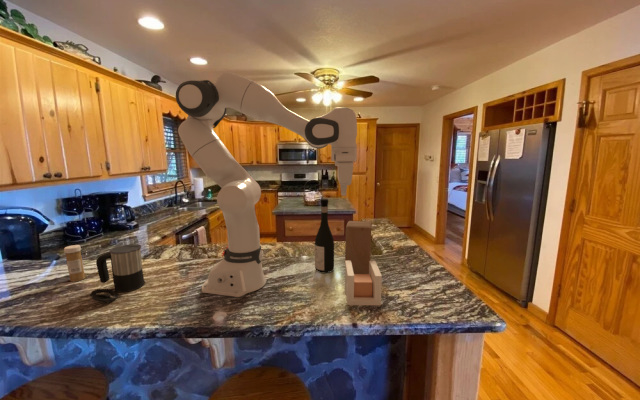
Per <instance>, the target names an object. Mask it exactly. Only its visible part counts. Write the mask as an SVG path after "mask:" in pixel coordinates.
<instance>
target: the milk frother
mask: <svg viewBox="0 0 640 400" xmlns="http://www.w3.org/2000/svg"><path fill="white" fill-rule="evenodd" d="M141 248H142V245H140V244H137V243H136V244H124V245H119V246H115V247H112V248H111V249H110V250H109V251H107V252H104V253H102V254H101V255H99V257H98V258H97V259H96V262H95V263H96V264H95V265H96V269H97V272H98V277H99V281H100V283H101V284H105V283H107V282H108V281H109V280H110V274H109V270H108V262H107V260H108V259H109V260H110V264H111V265H110V266H111V271H112V280H113V284H114V287H113V288H97V289H94V290H92V291H91V292H90V298H91V299H93V301H96V302H100V303H109V302H113V301H115V300H117V298H119V293H128V292H131V291H132V292H133V291H135V290H138V289H140V288H141V287H143V286H144V285H145V284H146V281H145V278H144V271H143V261H142V252H141V251H142V250H141Z"/></svg>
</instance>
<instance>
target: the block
mask: <svg viewBox="0 0 640 400" xmlns="http://www.w3.org/2000/svg"><path fill="white" fill-rule="evenodd" d="M354 297H364V298H372V280H371V277H370V274H354Z"/></svg>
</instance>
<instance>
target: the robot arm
mask: <svg viewBox="0 0 640 400" xmlns="http://www.w3.org/2000/svg"><path fill="white" fill-rule="evenodd" d="M175 101H176V104H177V106H178V107H179V109H181V110H182V112H184V113H185V114H187V117H186V119H185V120H184V121H182V122H181V123H180V125H179V126H178V129H177V132H178V136H179V138H180V140H181V142H182V145H183V146H184V147H185V150H187V152H188V153H189V155H190V156H191V158H192V159H193V160H194V161H195V163H196V164H197V166H199V168H200V170H202V172H203V174H204V175H205V176H206V177H207V178H208V179H210V180H212V181H213V182H214V183H215V184H217V186H219V187H220V190H219V191H218V193H217V196H216V204H217V206H218V208H219V209H220V211H221V212H222V214H223V215H222V216H223V218H224V222H225V223H224V224H225V226H226V232H227V233H226V234H227V246H226V247H225V249H224V250H223V252H222V253H221V257H222V258H223V259H221V260H219V262H217V263H216V264H215V265H214V266H212V268H211V269H210V270H209V272H208V277H207V279H206V280H205V281H204V282H203V284H202V285H201V293H203V294H211V295H219V296H220V295H221V296H225V297H236V298H240V297H243V296H245V295H247V294H248V293H253V292H255V291H258V290H260V289H261V288H263V287H264V286H265V285H266V283H267V280H266V276H265V274H264V270H263V265H262V261H263V260H262V259H263V252H262V246H261V239H260V238H261V237H260V226H259V223H258V219H257V214H256V207H255V205H256V204H257V203H258V202H259V201H260V200H261V195H262V188H261V186H260V184H259V183H258V182H257V181H256V180H255V179H254V178H253V177H252V176H251V175H250V173H249V172H248V171H246V169H245V168H244V167H243V166H242V165H241V164H240V163H239V162H238V161H237V160H236V158H235V157H234V156H233V155H232V154H231V152H230V151H229V149H228V148H227V147H226V145H225V144H224V141H222V140H221V139H220V136H218V134H217V133H216V131H215V128H217V127H218V125H219V123H221V121H222V120H223V119H224V118H225V116H226V114H227V109H232V110H235V111H237V112H239V113H241V114H243V115H245V116H248V117H250V118H251V119H252V118H253V119H255V120H259V121H263V122H267V123H270V124H274V125H278V126H280V127H282V128H285V129H286V130H289V131H291V132H293V133H295V134H296V135H299V136H300V137H302V138H303V139H304V141H305V142H306V143H307V144H308V146H310V147H312V148H314V149H318V150H319V149H324V148H326V147H327V146H328V145H330V147H331V149H330V151H331V152H330V153H331V162H334V166H335V167H337V181H338V183H339V185H340V194H341V196H342V197H345V196H347V189H348V186H350V185H351V184H352V181H353V173H354V172H353V171H354V163H355V162H357V159H358V158H357V155H358V154H357V152H358V151H357V150H358V147H357V135H358V121H357V114H356V113H355V111H354V110H353V109H351V108H349V107H342V106H340V107H339V106H336V107H334V108H333V109H331V110H330V111H328V112H327V113H326V114H323V115H320V116H317V117H314V118H311V119H310V120H308V119H306V118H304V117H302V116H300V115H299V114H297V113H295V112H293V111H291V110H289V109H288V108H286V106H284V105H283V103H281V101H279V99H278V98H277V97H276V95H275V94H274V93H273V92H272V91H270V90H269V89H267V88H266V87H265V86H263V85H262V84H261V83H258V82H257V81H254V80H253V79H250V78H247V77H245V76H243V75H241V74H237V73H233V72H231V71H230V72H229V71H224V72H222V73H220V74H219V75H218V77H217V78H216V80H215V82H214V83H213V82H212V81H210V80H208V79H206V80H205V79H204V80H203V79H202V80H186V81H183V82H182V83H180V84H179V85H178V86H177V88H176V91H175Z"/></svg>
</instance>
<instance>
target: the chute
mask: <svg viewBox="0 0 640 400" xmlns="http://www.w3.org/2000/svg"><path fill="white" fill-rule="evenodd" d="M369 274H370V277H371V280H372V298H364V297H354V272H353V268H352V263H351V261H344V288H345V289H344V290H345V296H346V297H345V298H346V305H347V306H381V305H382V284H383V283H382V280H383V276H382V273H381V270H380V269H379V267H378V264H377V262H376V260H370V261H369Z"/></svg>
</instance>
